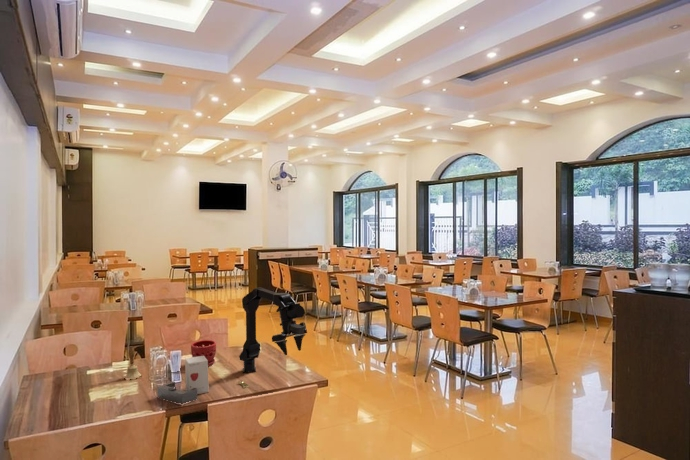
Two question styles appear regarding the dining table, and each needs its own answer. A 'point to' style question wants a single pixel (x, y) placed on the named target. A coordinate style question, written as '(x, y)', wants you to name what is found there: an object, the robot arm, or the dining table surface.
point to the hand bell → (132, 366)
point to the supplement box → (196, 374)
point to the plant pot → (204, 350)
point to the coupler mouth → (176, 393)
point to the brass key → (243, 384)
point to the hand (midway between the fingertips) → (293, 352)
